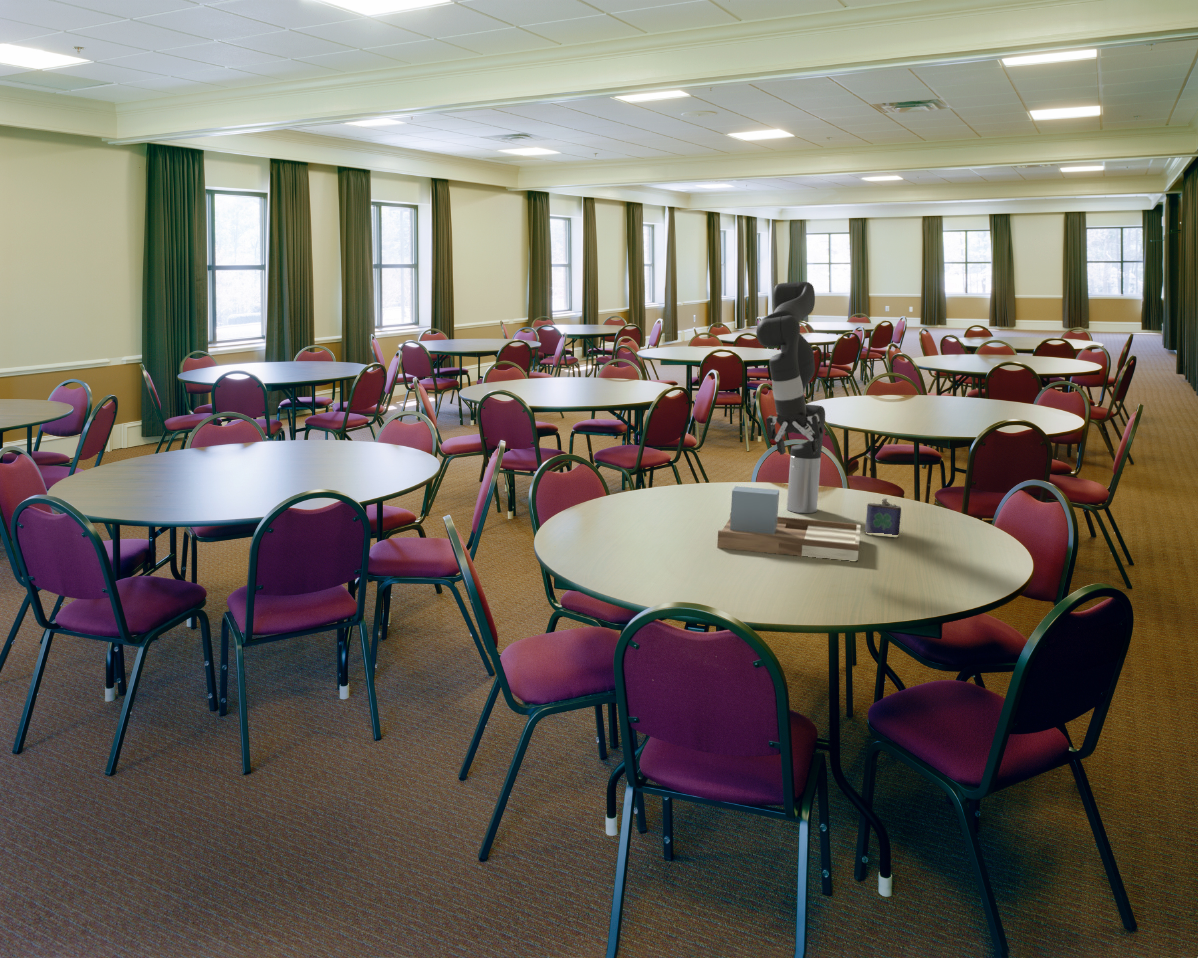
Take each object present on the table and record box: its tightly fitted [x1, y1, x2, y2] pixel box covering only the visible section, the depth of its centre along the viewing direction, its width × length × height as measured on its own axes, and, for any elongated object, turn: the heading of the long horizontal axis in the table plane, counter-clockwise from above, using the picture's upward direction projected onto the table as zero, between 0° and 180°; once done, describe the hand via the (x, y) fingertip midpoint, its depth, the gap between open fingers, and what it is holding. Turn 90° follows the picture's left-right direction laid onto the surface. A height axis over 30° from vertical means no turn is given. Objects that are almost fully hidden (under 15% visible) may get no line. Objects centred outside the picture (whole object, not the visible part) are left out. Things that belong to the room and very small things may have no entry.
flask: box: [864, 498, 902, 535], centre depth 251 cm, size 9×3×11 cm, turn 65°
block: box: [730, 485, 780, 534], centre depth 243 cm, size 6×12×11 cm, turn 73°
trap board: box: [716, 512, 861, 560], centre depth 241 cm, size 22×36×4 cm, turn 73°
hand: (798, 453), depth 231 cm, fingers open, 8 cm apart
